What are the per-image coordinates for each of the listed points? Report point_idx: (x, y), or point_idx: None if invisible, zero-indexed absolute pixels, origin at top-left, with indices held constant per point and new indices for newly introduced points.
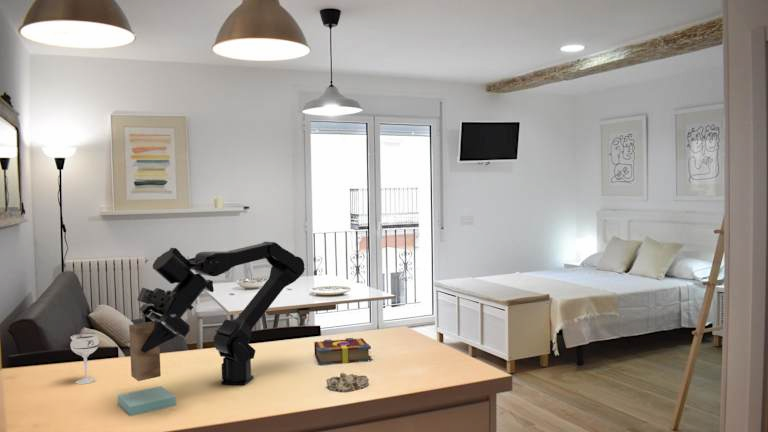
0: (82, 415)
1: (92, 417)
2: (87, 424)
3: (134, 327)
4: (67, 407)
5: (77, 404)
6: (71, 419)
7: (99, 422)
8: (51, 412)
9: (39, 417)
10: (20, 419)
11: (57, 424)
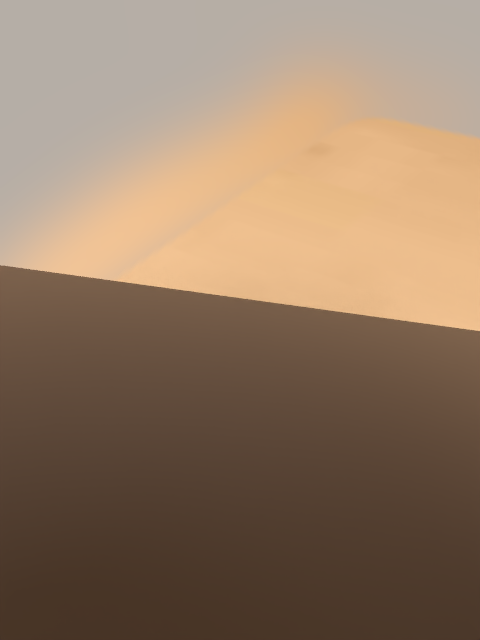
0: (291, 271)
1: (238, 285)
2: (178, 247)
3: (64, 285)
4: (430, 269)
5: (443, 306)
6: (278, 231)
7: (160, 281)
8: (410, 215)
9: (383, 176)
10: (406, 137)
11: (264, 187)
